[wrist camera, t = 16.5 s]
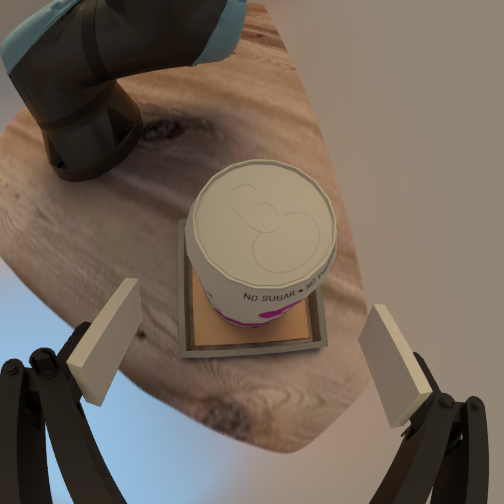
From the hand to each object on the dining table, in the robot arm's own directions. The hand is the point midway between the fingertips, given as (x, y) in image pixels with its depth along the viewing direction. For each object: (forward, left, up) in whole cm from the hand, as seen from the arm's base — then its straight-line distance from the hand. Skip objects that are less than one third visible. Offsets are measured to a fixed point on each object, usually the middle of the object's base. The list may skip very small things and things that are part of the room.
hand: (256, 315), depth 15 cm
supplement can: (+2, +4, -12) cm, 13 cm away
